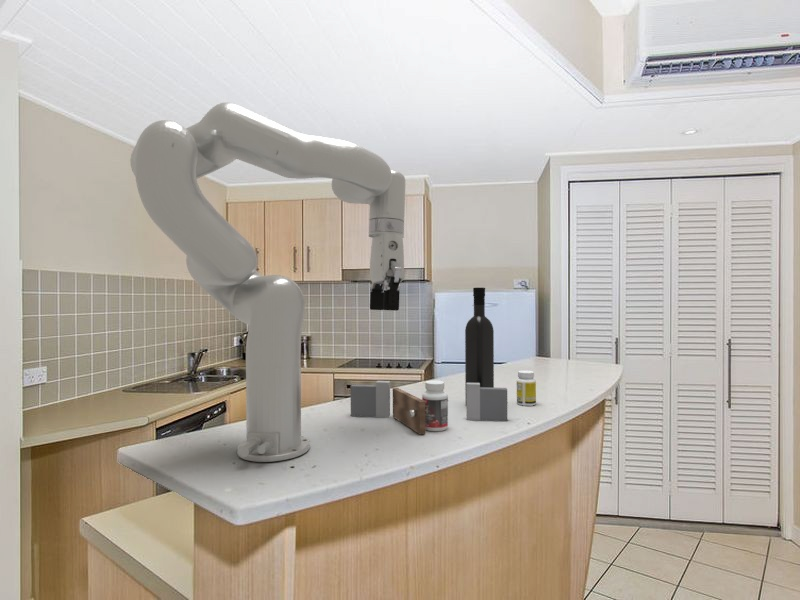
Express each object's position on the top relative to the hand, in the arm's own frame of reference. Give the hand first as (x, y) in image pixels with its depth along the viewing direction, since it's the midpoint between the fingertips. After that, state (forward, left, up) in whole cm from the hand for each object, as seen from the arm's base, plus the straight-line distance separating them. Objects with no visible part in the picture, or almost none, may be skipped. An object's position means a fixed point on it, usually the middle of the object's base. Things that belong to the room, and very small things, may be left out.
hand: (383, 310), depth 97 cm
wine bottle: (+21, -21, -25) cm, 39 cm away
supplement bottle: (+25, -33, -25) cm, 48 cm away
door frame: (+9, -9, -25) cm, 28 cm away
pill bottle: (0, -11, -25) cm, 27 cm away
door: (+1, -4, -25) cm, 25 cm away
